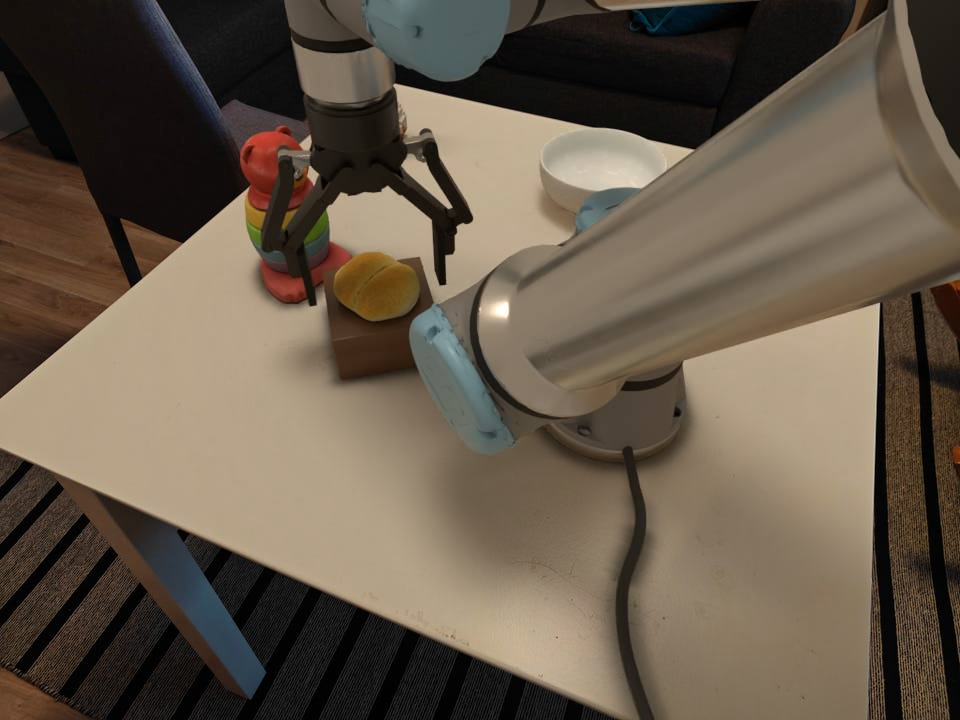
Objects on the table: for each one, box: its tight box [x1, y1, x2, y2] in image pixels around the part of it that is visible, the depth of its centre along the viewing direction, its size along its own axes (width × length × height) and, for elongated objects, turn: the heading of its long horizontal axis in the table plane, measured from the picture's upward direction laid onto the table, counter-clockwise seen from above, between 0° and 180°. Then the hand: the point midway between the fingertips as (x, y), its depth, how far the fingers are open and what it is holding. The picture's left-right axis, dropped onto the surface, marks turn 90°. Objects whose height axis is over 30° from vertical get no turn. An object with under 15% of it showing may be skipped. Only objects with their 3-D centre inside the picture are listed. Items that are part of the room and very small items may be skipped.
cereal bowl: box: [538, 127, 669, 215], centre depth 89 cm, size 17×17×7 cm
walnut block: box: [322, 256, 435, 381], centre depth 71 cm, size 11×11×6 cm
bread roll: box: [333, 251, 420, 321], centre depth 67 cm, size 8×9×4 cm
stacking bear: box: [239, 125, 353, 303], centre depth 74 cm, size 11×10×18 cm
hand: (377, 287), depth 68 cm, fingers open, 13 cm apart
